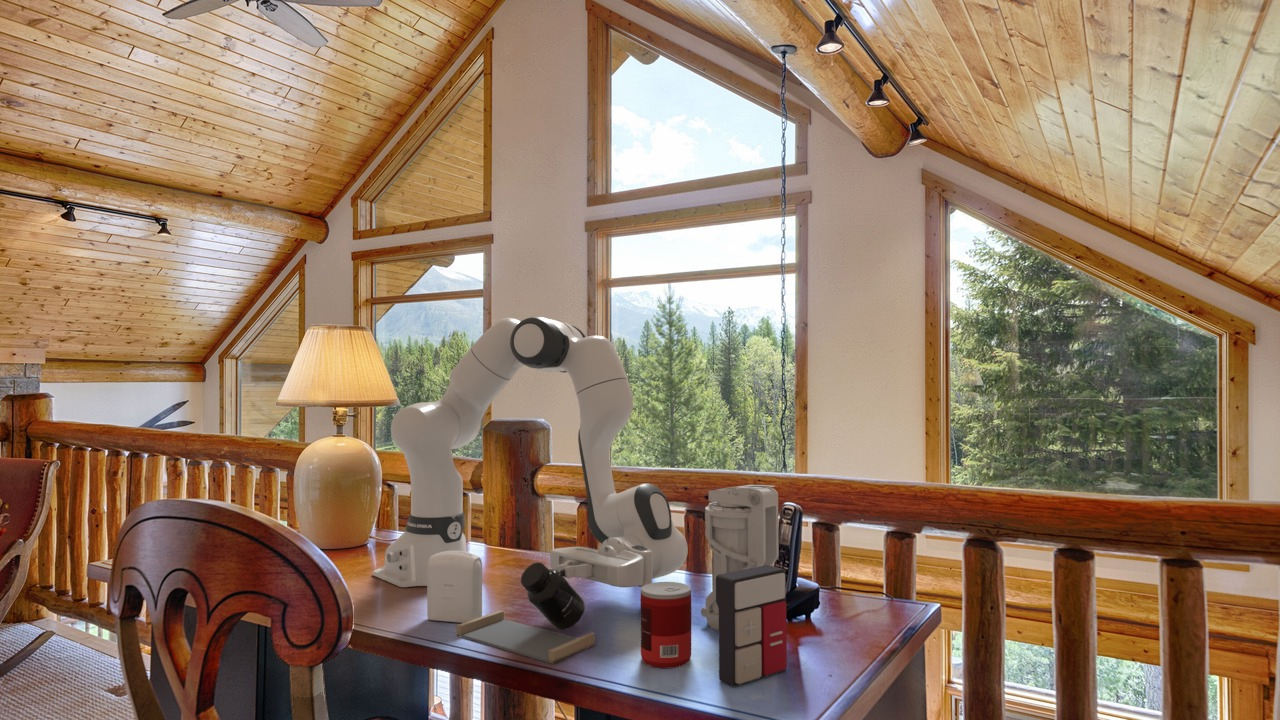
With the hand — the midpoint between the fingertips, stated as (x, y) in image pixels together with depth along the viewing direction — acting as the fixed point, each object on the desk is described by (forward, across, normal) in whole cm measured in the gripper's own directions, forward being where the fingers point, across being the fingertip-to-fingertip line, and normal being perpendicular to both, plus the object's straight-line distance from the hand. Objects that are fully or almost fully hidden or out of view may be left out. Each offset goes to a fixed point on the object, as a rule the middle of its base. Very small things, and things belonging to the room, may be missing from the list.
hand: (561, 571), depth 127 cm
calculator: (-8, +35, +10) cm, 38 cm away
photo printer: (+10, -18, +10) cm, 23 cm away
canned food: (-4, +22, +10) cm, 25 cm away
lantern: (-24, +20, +10) cm, 33 cm away
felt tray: (+7, 0, +10) cm, 13 cm away
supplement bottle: (-3, 0, +8) cm, 8 cm away
